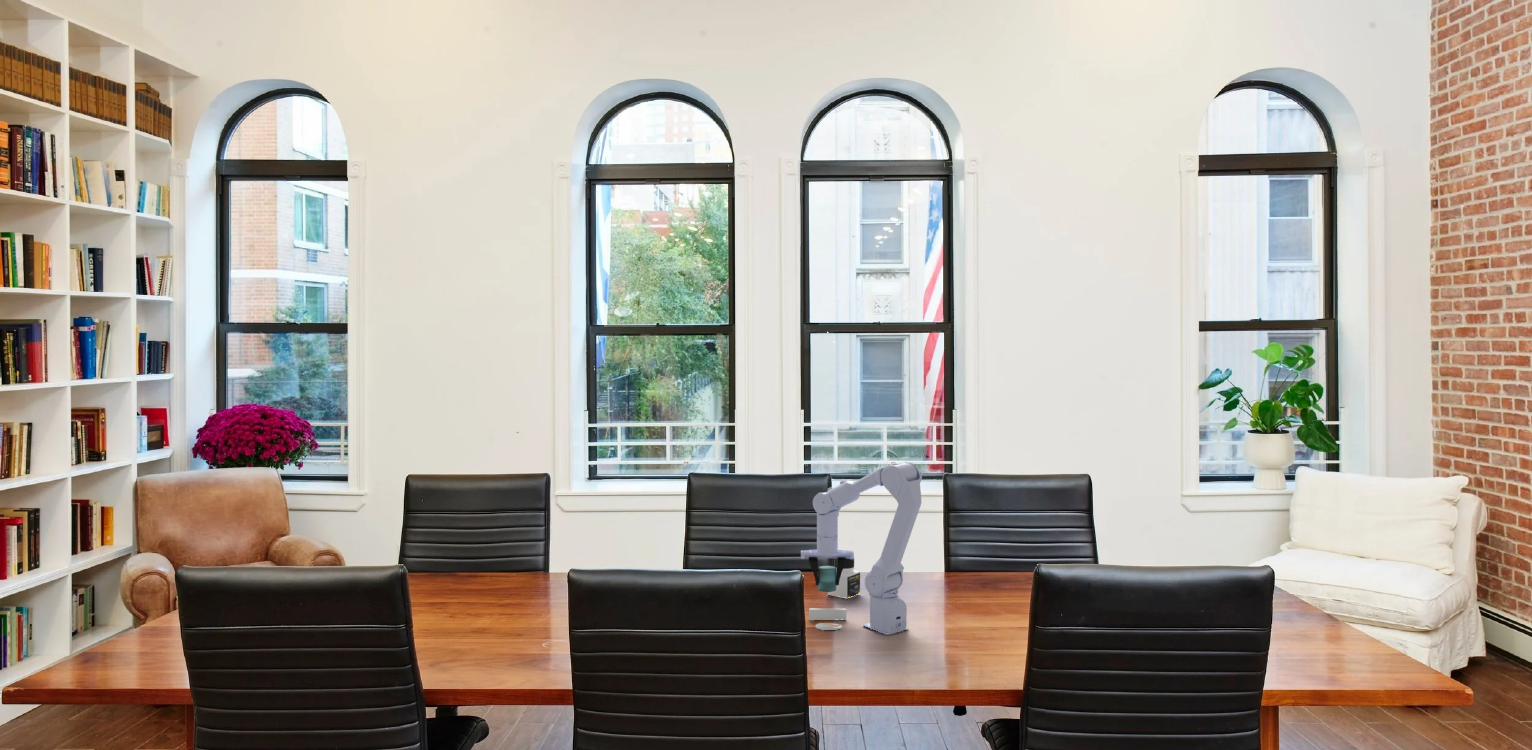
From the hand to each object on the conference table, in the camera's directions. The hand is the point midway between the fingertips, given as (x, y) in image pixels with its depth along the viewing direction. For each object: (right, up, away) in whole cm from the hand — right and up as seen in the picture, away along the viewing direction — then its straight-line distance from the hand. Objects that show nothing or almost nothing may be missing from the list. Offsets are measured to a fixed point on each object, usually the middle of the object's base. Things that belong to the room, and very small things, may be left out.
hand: (827, 584), depth 251 cm
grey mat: (0, -9, -11) cm, 14 cm away
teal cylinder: (0, -2, 0) cm, 2 cm away
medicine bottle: (+6, -8, +20) cm, 22 cm away
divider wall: (0, -9, -5) cm, 10 cm away
